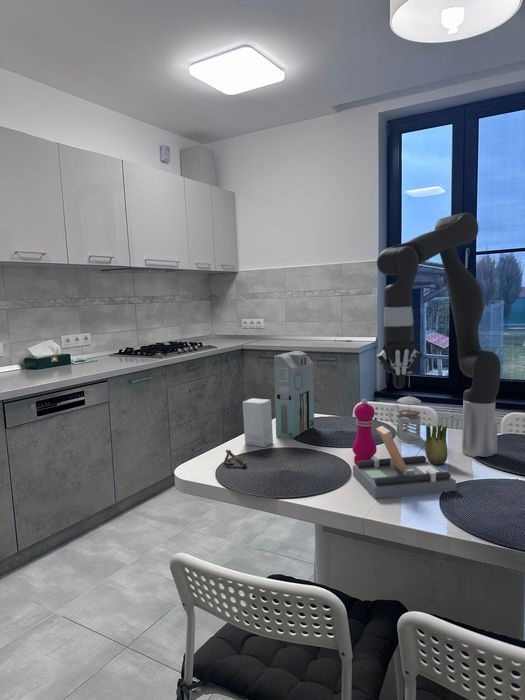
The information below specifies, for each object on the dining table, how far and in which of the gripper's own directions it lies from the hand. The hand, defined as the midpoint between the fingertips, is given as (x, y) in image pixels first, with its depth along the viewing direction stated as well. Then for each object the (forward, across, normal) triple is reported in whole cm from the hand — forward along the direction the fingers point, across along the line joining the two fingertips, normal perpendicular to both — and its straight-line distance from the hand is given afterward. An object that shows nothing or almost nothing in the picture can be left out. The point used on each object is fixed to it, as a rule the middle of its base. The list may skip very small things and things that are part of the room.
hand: (399, 387), depth 125 cm
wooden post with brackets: (+26, +43, -22) cm, 55 cm away
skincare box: (+26, +33, -42) cm, 59 cm away
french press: (+27, -19, -34) cm, 47 cm away
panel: (+26, 0, +2) cm, 26 cm away
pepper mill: (+26, +4, -15) cm, 31 cm away
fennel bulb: (+27, -17, -10) cm, 33 cm away
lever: (+22, 0, +2) cm, 22 cm away
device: (+26, +17, -52) cm, 61 cm away
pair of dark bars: (+23, 0, +2) cm, 23 cm away
